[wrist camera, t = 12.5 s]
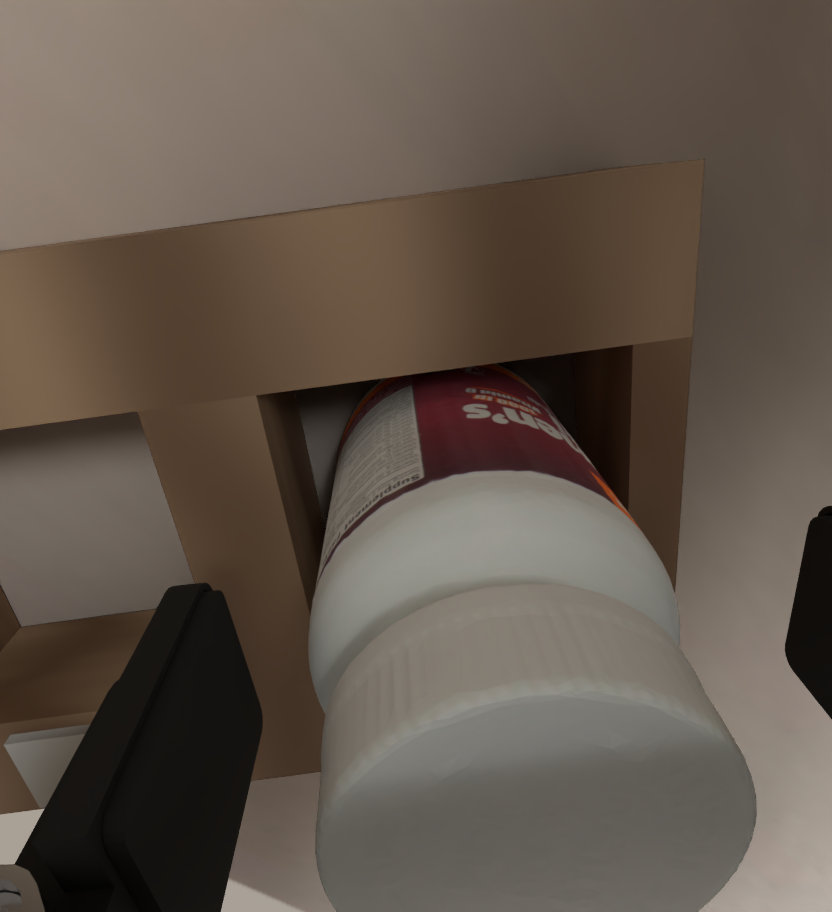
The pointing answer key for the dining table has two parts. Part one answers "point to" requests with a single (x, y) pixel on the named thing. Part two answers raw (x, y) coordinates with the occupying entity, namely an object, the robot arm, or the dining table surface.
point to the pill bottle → (505, 674)
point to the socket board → (323, 364)
